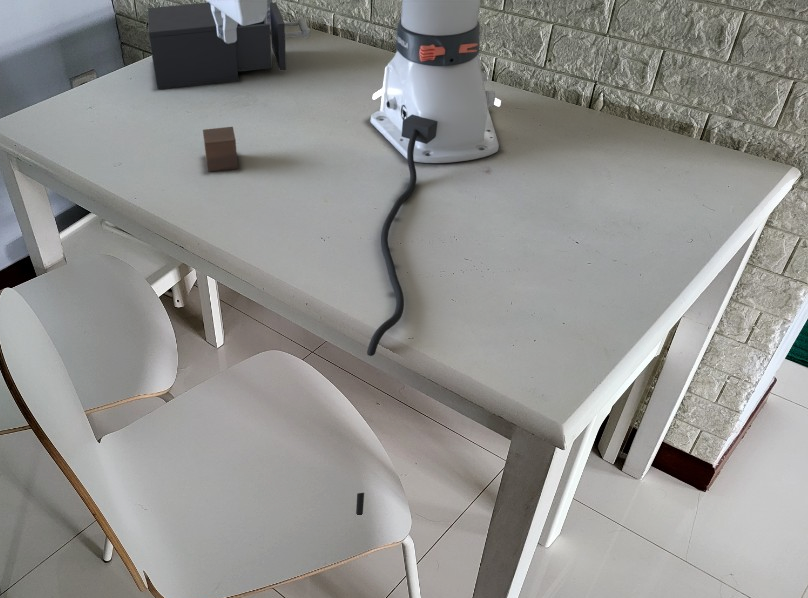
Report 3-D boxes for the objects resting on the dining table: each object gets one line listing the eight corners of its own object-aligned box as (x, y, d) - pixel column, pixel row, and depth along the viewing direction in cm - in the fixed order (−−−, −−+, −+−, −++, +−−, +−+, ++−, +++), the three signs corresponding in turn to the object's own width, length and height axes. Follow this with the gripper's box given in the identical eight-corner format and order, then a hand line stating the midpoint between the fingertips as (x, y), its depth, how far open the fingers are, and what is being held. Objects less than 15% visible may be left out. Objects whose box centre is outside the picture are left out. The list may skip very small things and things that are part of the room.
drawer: (303, 44, 139) (302, -1, 134) (313, 67, 131) (312, 20, 126) (207, 53, 139) (202, 9, 133) (211, 77, 131) (206, 31, 125)
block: (238, 168, 109) (235, 140, 105) (207, 172, 108) (204, 143, 105) (235, 154, 112) (232, 126, 109) (206, 157, 112) (202, 129, 108)
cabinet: (232, 55, 140) (228, 0, 133) (238, 81, 131) (234, 24, 124) (156, 62, 139) (148, 8, 132) (157, 89, 130) (148, 32, 124)
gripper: (166, -85, 100) (180, 23, 110) (227, -52, 87) (236, 68, 97) (208, -93, 102) (218, 14, 112) (274, -61, 89) (278, 57, 98)
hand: (227, 40), depth 104 cm, fingers closed
